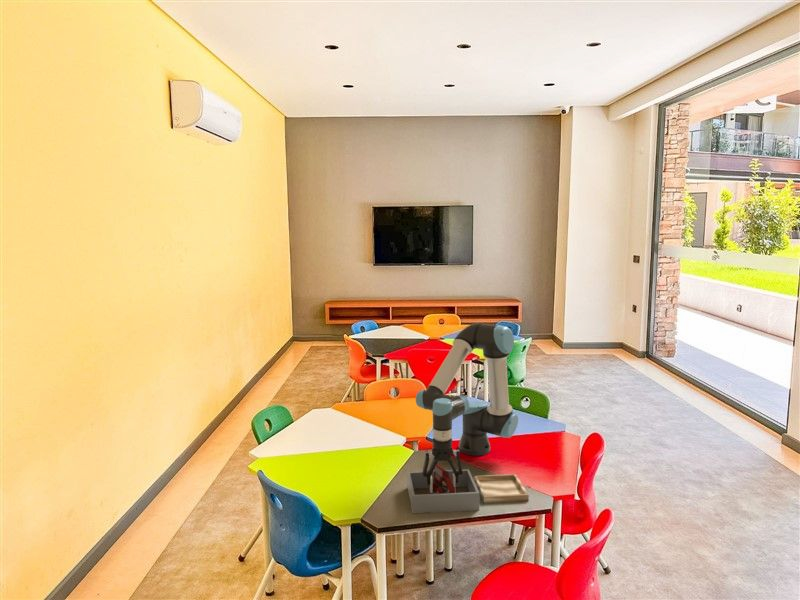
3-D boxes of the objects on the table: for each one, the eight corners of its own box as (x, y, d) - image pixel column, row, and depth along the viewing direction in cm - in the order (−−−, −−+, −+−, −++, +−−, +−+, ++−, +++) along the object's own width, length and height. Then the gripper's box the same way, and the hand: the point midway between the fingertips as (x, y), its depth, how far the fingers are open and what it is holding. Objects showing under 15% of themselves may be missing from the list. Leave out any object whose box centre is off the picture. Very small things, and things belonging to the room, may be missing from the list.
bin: (407, 487, 230) (407, 472, 229) (468, 484, 232) (469, 469, 231) (412, 513, 210) (412, 496, 209) (479, 510, 212) (479, 493, 211)
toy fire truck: (443, 502, 214) (443, 477, 213) (427, 488, 225) (427, 464, 224) (458, 498, 217) (458, 473, 216) (442, 484, 228) (442, 460, 227)
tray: (474, 481, 235) (474, 475, 235) (515, 479, 237) (515, 473, 236) (484, 502, 218) (484, 497, 217) (528, 500, 219) (528, 494, 219)
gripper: (416, 443, 213) (417, 497, 217) (470, 440, 214) (470, 494, 218) (414, 435, 220) (415, 487, 224) (467, 432, 222) (466, 484, 226)
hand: (442, 490), depth 221 cm, fingers closed on toy fire truck, 8 cm apart
